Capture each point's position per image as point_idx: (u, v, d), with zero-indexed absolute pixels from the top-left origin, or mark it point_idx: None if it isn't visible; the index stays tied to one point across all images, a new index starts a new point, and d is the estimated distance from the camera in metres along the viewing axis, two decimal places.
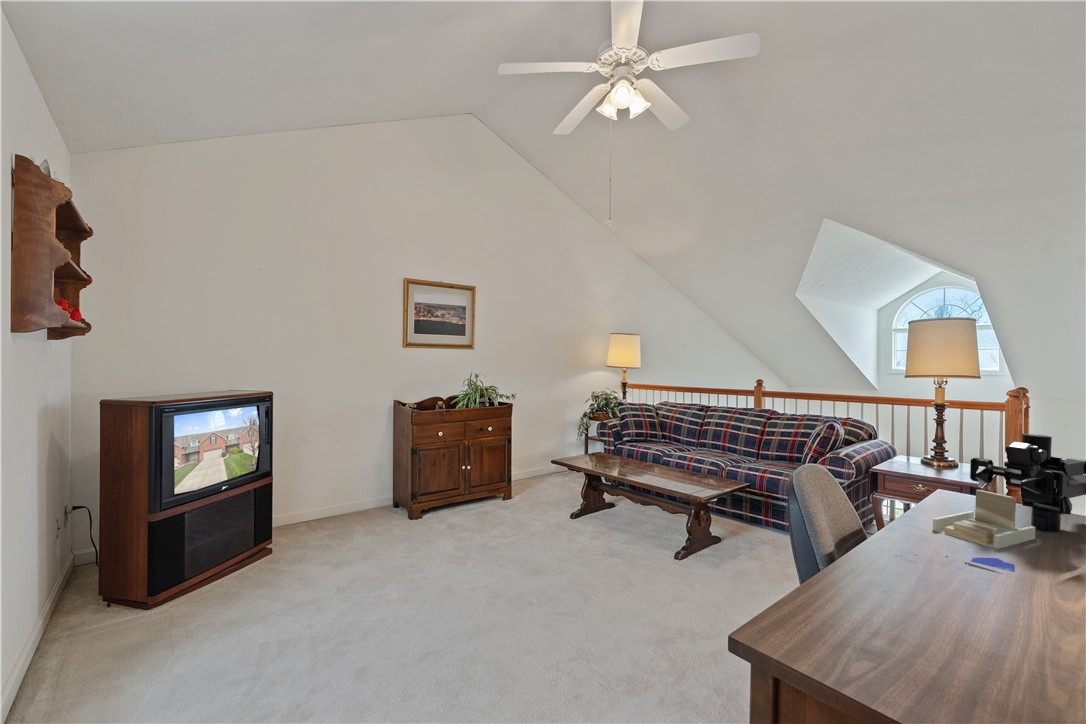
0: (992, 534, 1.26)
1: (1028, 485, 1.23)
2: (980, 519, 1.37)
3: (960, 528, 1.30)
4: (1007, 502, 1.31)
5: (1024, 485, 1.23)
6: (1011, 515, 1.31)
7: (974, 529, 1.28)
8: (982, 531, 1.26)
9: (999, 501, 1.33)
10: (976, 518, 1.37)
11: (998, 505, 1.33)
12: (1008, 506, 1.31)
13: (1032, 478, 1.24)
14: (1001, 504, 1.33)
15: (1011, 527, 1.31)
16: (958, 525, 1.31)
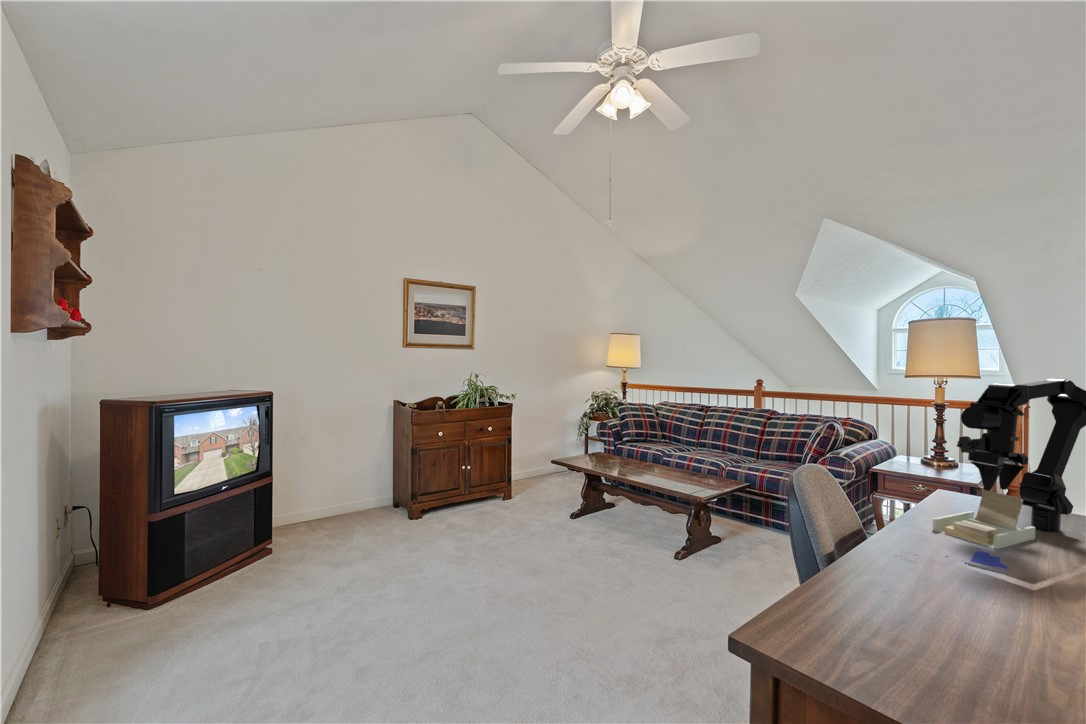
0: (992, 534, 1.26)
1: (988, 484, 1.31)
2: (981, 517, 1.37)
3: (960, 528, 1.30)
4: (1014, 502, 1.33)
5: (988, 488, 1.31)
6: (1015, 514, 1.31)
7: (974, 529, 1.28)
8: (982, 531, 1.26)
9: (1005, 500, 1.34)
10: (977, 516, 1.38)
11: (1004, 504, 1.34)
12: (1014, 505, 1.32)
13: None
14: (1007, 503, 1.34)
15: (1012, 525, 1.31)
16: (958, 525, 1.31)
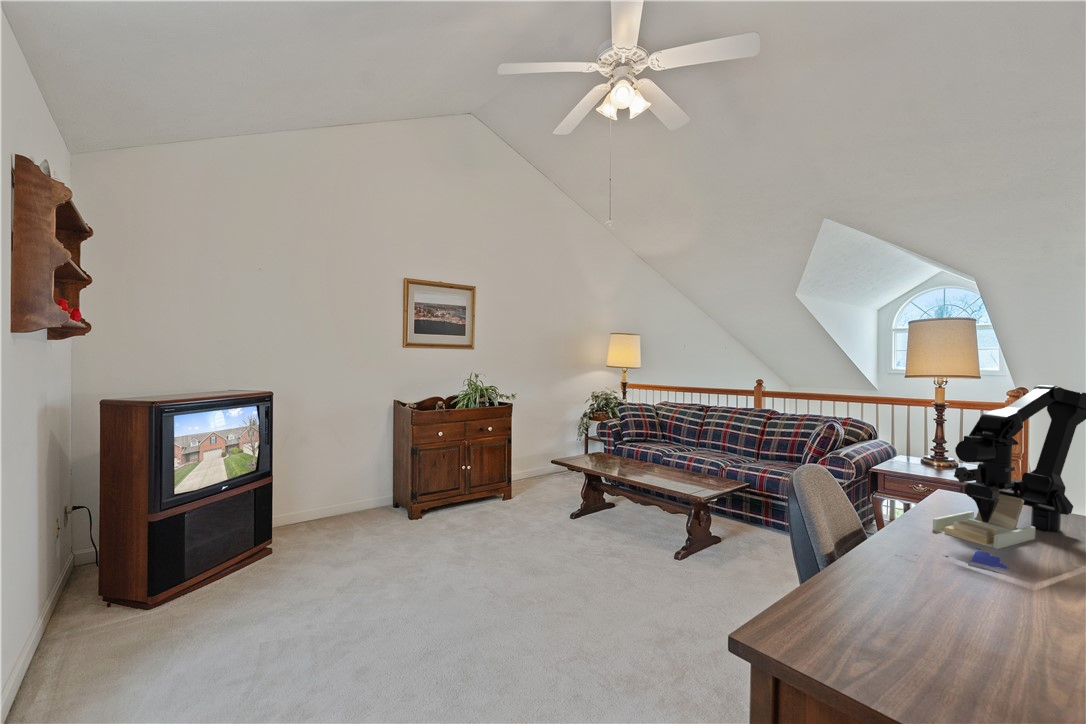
0: (992, 534, 1.26)
1: (986, 516, 1.32)
2: None
3: (960, 528, 1.30)
4: (1014, 502, 1.33)
5: (986, 520, 1.32)
6: (1015, 515, 1.32)
7: (974, 529, 1.28)
8: (982, 531, 1.26)
9: (1006, 501, 1.34)
10: (978, 516, 1.38)
11: (1004, 505, 1.34)
12: (1015, 506, 1.33)
13: None
14: (1008, 504, 1.34)
15: (1012, 525, 1.31)
16: (958, 525, 1.31)
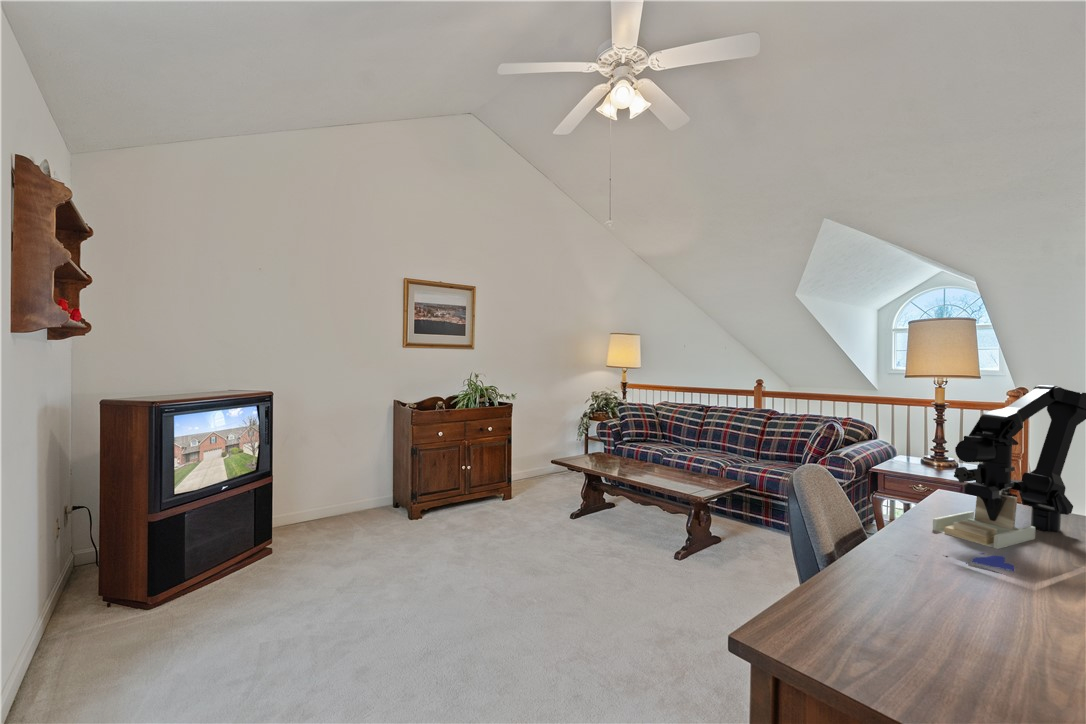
0: (992, 534, 1.26)
1: (993, 515, 1.33)
2: (980, 519, 1.37)
3: (960, 528, 1.30)
4: (1008, 501, 1.32)
5: (993, 519, 1.33)
6: (1011, 515, 1.31)
7: (974, 529, 1.28)
8: (982, 531, 1.26)
9: None
10: (976, 518, 1.37)
11: None
12: (1009, 505, 1.31)
13: None
14: None
15: (1011, 527, 1.31)
16: (958, 525, 1.31)
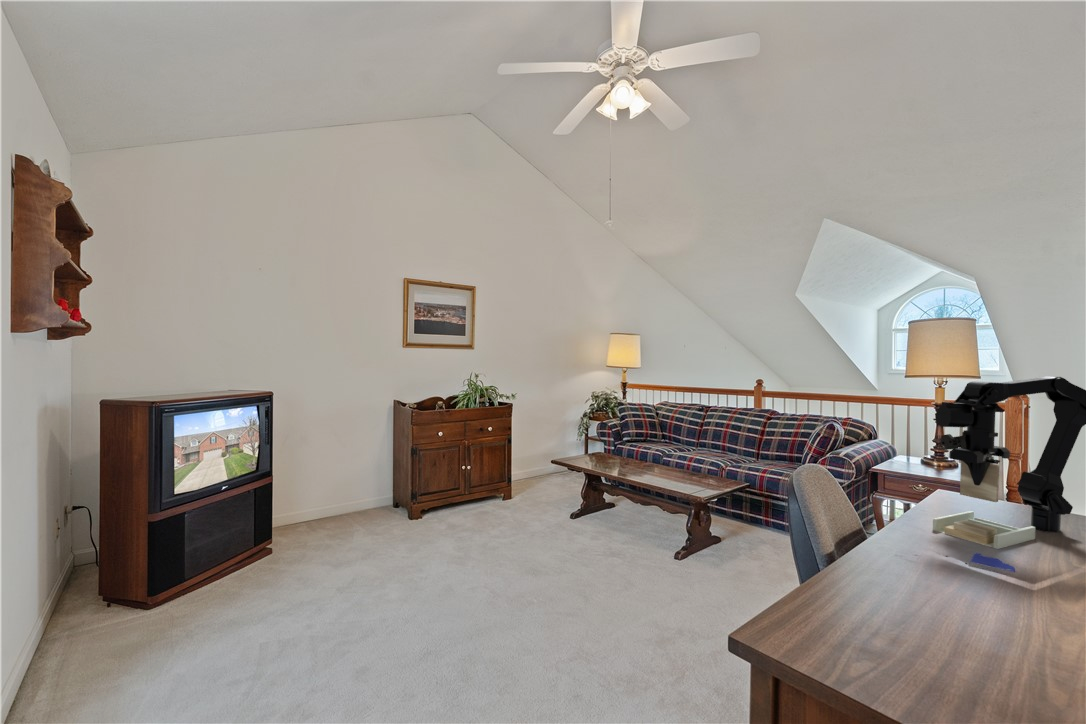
0: (992, 534, 1.26)
1: (978, 479, 1.37)
2: (965, 487, 1.41)
3: (960, 528, 1.30)
4: (991, 469, 1.35)
5: (978, 483, 1.38)
6: (995, 482, 1.35)
7: (974, 529, 1.28)
8: (982, 531, 1.26)
9: None
10: (961, 486, 1.41)
11: None
12: (992, 473, 1.35)
13: None
14: None
15: (995, 493, 1.35)
16: (958, 525, 1.31)
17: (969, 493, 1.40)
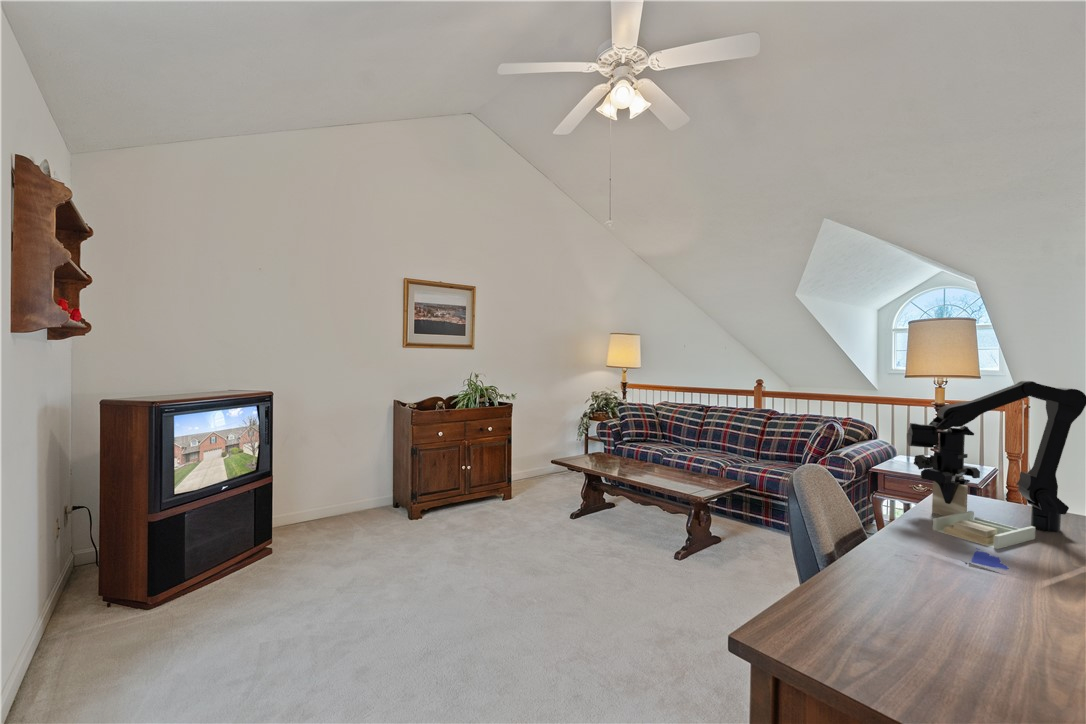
0: (992, 534, 1.26)
1: (948, 498, 1.45)
2: (937, 506, 1.49)
3: (960, 528, 1.30)
4: (960, 490, 1.44)
5: (948, 502, 1.46)
6: (963, 502, 1.43)
7: (974, 529, 1.28)
8: (982, 531, 1.26)
9: None
10: (933, 505, 1.50)
11: None
12: (960, 493, 1.43)
13: None
14: None
15: None
16: (958, 525, 1.31)
17: (940, 512, 1.48)
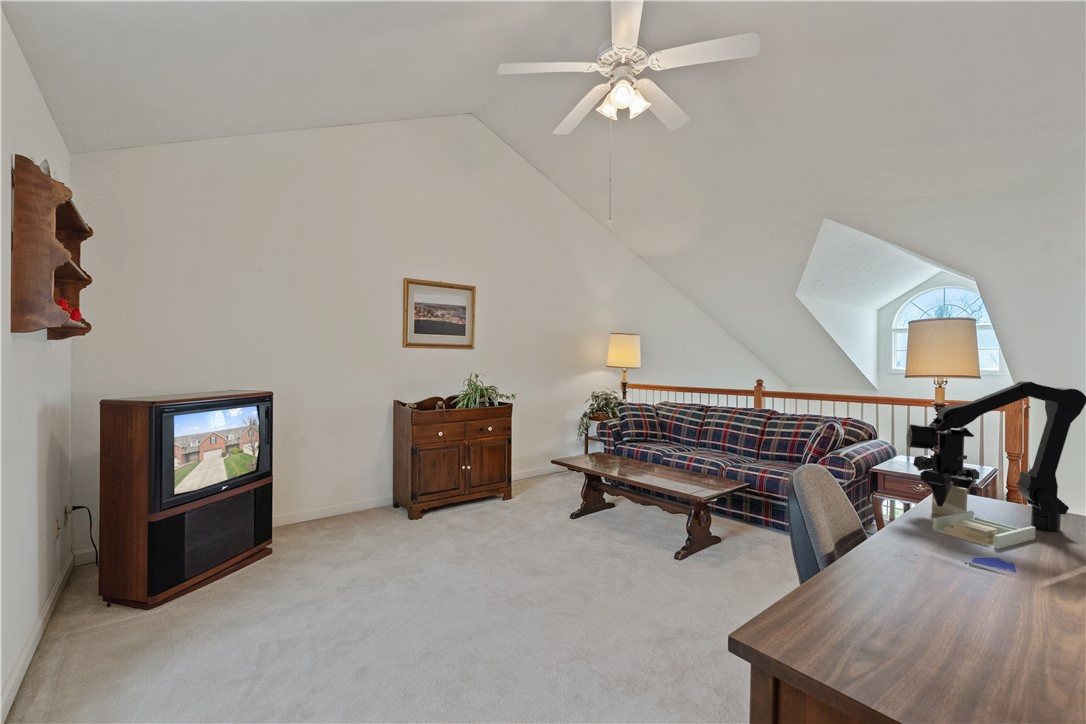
0: (992, 534, 1.26)
1: (940, 501, 1.44)
2: (936, 509, 1.49)
3: (960, 528, 1.30)
4: (959, 493, 1.44)
5: (940, 505, 1.44)
6: (963, 505, 1.43)
7: (974, 529, 1.28)
8: (982, 531, 1.26)
9: (953, 492, 1.45)
10: (933, 508, 1.50)
11: (952, 496, 1.45)
12: (960, 496, 1.43)
13: None
14: (954, 495, 1.45)
15: None
16: (958, 525, 1.31)
17: None
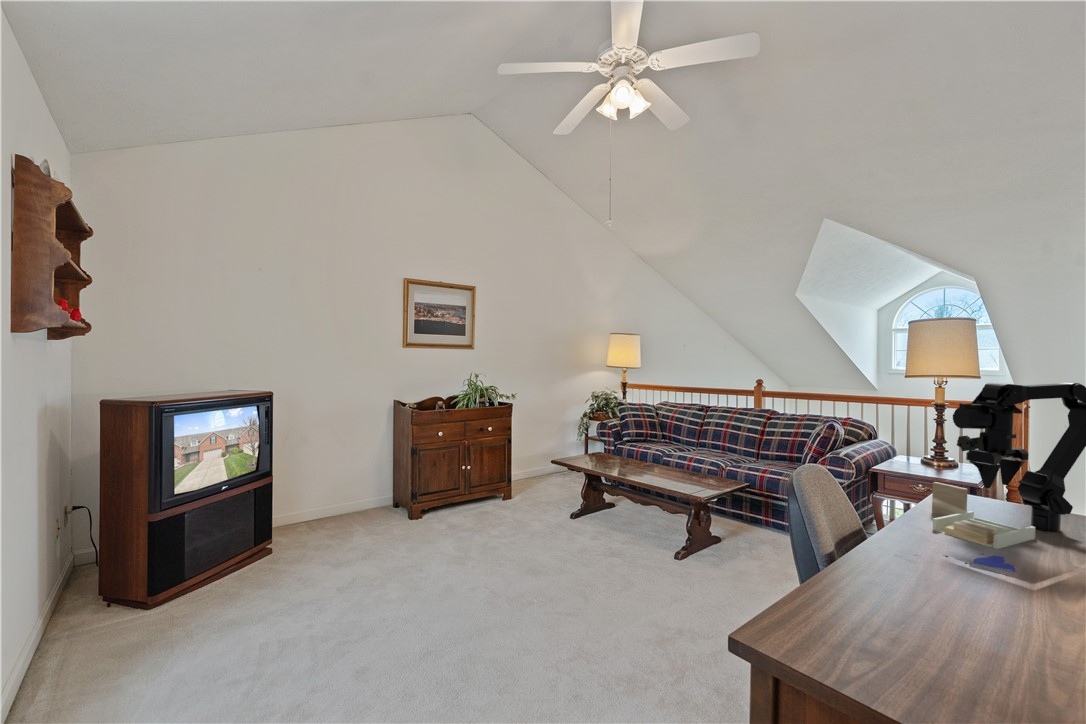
0: (992, 534, 1.26)
1: (988, 482, 1.35)
2: (936, 509, 1.49)
3: (960, 528, 1.30)
4: (959, 493, 1.44)
5: (988, 486, 1.36)
6: (963, 505, 1.43)
7: (974, 529, 1.28)
8: (982, 531, 1.26)
9: (953, 492, 1.45)
10: (933, 508, 1.50)
11: (952, 496, 1.45)
12: (960, 496, 1.43)
13: None
14: (954, 495, 1.45)
15: None
16: (958, 525, 1.31)
17: None
